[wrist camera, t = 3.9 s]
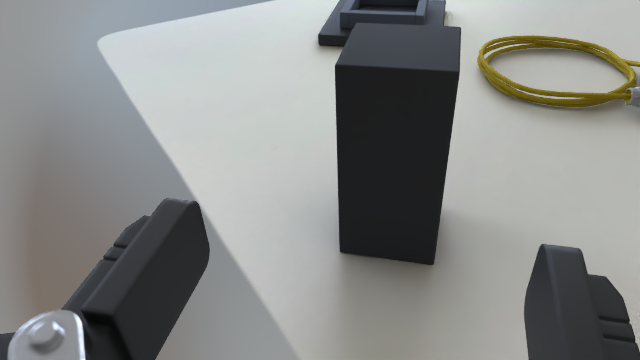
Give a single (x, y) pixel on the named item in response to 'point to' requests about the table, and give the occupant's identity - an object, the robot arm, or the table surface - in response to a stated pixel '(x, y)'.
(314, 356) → the table surface
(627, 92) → the yellow coiled cord
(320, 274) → the table surface
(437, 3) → the base pad
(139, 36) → the table surface
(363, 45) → the tall dark pillar
